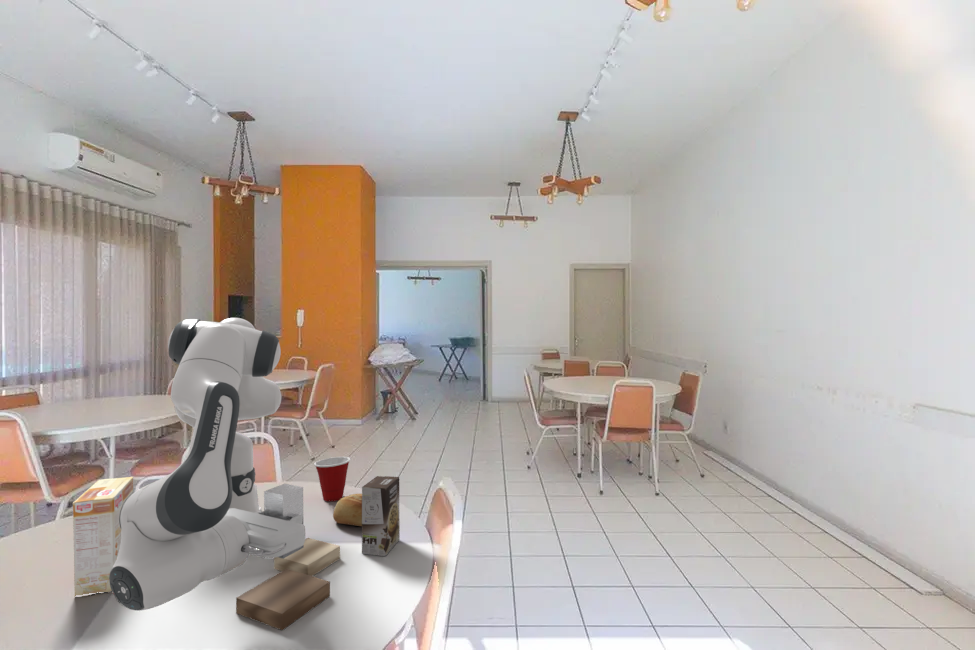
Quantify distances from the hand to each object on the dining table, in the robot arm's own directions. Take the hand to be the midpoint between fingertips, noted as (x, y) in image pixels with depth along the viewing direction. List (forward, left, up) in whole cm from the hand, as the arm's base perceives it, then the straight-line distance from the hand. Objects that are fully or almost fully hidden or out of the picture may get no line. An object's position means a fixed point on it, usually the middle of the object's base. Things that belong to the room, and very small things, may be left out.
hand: (287, 515), depth 97 cm
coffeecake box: (-43, -10, -17) cm, 48 cm away
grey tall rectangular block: (0, -1, -6) cm, 7 cm away
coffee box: (+2, +27, -17) cm, 32 cm away
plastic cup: (-32, +47, -17) cm, 60 cm away
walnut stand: (0, -1, -17) cm, 17 cm away
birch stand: (-8, +13, -17) cm, 23 cm away
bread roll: (-12, +35, -18) cm, 41 cm away
